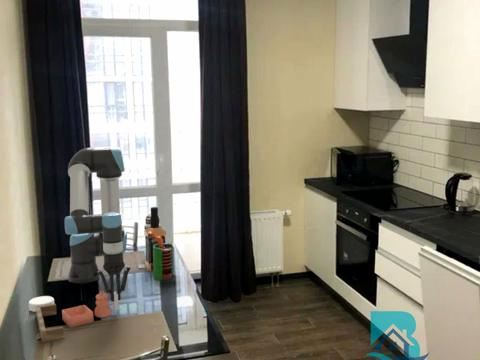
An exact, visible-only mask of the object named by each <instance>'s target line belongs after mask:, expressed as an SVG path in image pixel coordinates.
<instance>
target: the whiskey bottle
mask: <svg viewBox="0 0 480 360" xmlns="http://www.w3.org/2000/svg"><path fill="white" fill-rule="evenodd" d="M150 214H151V218H150V225H151V226H150V227H149V228H147V229H146V230H145V229H144V235H145V236H144V239H145V241H144V242H145V259H144V267H145V269H146V270H147V271H148V272H150V273H151V272H152V273H154V267H153V246H154V245H155V244H159V242H158V241H155V237H157V236H160V237H162V240H163V243H166V235H167V231H166V230H165V229H164V228H162V226H161V227H159V219H160V218H158V216H159V208H158V207H157V206H151V207H150Z"/></svg>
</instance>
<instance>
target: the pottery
mask: <svg viewBox="0 0 480 360" xmlns="http://www.w3.org/2000/svg"><path fill="white" fill-rule="evenodd" d="M95 299H96V300H95V305H96V306H95V308H94V311H93V310H91V309H90V308H89V307H88V306H87V305H85V304H83V305H78V306H74V307H69V308H65V309H61V316H62V319H61V320H62V321H63V322H64V323H65V324H66V325H67V326H68V327H69V328H70V329H72V328H74V327H78V326H82V325H87V324H91V323H94V321H95V320H94V316H95V317H96V318H105V317H109V316H110V315H111V314H112V309H111V306H110V305H109V303H110V300H109V293H106V292H105V291H104V290H100V291H99V293H98V294H96V295H95Z"/></svg>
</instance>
